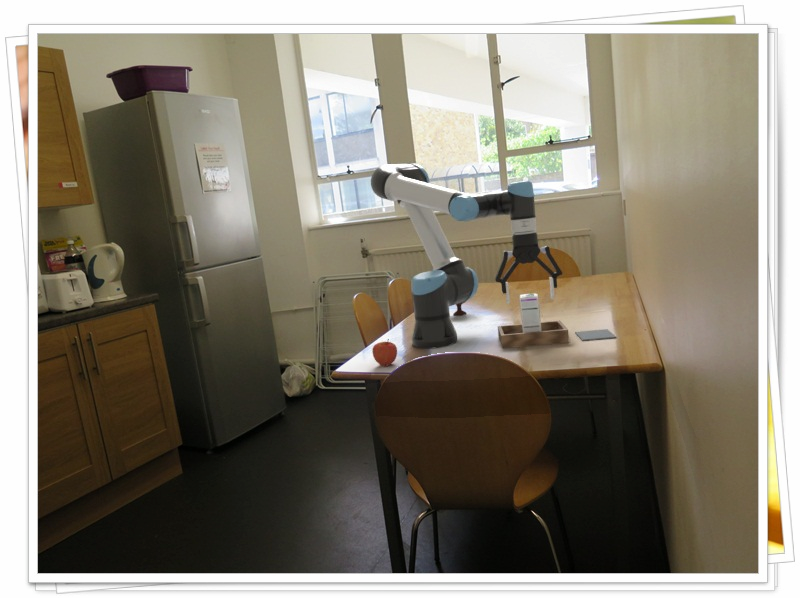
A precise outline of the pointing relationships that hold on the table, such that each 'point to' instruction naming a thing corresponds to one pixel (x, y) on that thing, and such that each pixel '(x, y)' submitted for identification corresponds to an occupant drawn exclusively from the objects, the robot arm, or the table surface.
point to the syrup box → (530, 312)
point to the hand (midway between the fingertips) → (530, 301)
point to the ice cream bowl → (459, 310)
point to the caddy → (533, 335)
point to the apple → (384, 353)
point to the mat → (595, 335)
